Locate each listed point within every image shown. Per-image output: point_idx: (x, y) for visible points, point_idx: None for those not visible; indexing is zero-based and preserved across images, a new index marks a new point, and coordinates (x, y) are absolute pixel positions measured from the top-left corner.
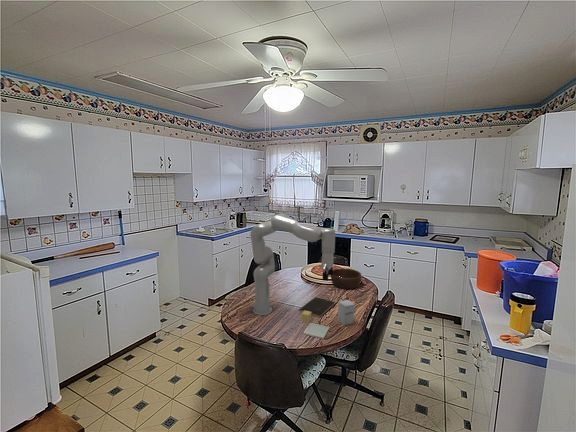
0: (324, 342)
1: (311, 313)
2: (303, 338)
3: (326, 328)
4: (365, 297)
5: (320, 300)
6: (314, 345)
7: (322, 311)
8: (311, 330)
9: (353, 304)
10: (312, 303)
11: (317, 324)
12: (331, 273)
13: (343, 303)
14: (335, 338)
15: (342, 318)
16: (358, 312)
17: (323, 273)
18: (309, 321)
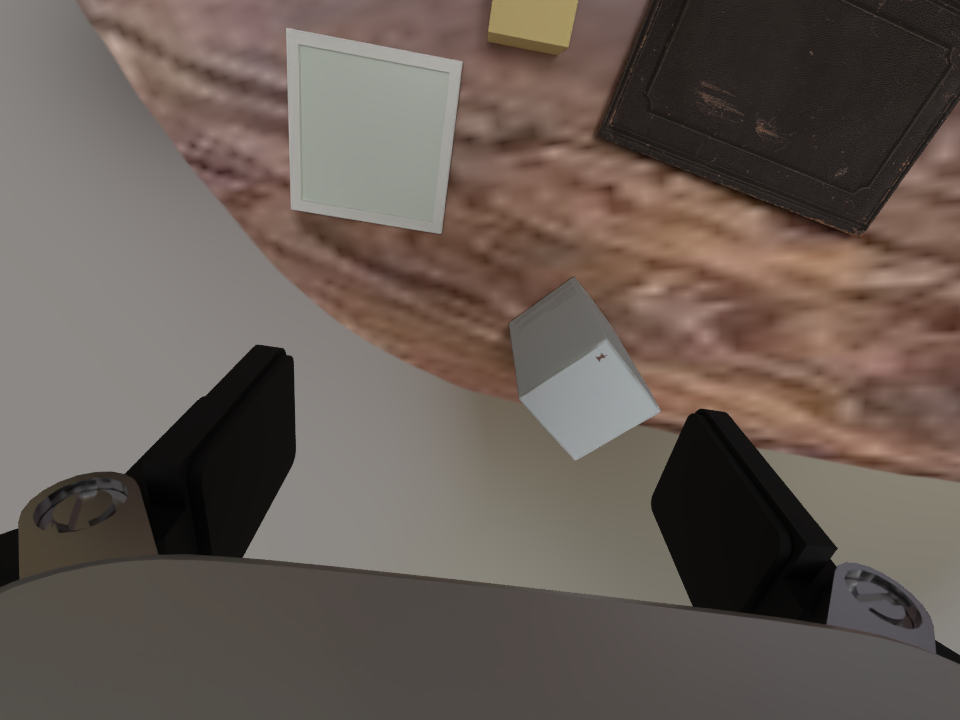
0: (261, 218)
1: (561, 48)
2: (235, 45)
3: (425, 212)
4: (942, 438)
5: (916, 89)
6: (193, 154)
7: (671, 146)
8: (356, 95)
9: (570, 454)
10: (851, 5)
11: (453, 133)
12: (669, 525)
13: (570, 385)
14: (337, 282)
15: (527, 328)
16: (705, 399)
17: (55, 515)
18: (503, 44)
